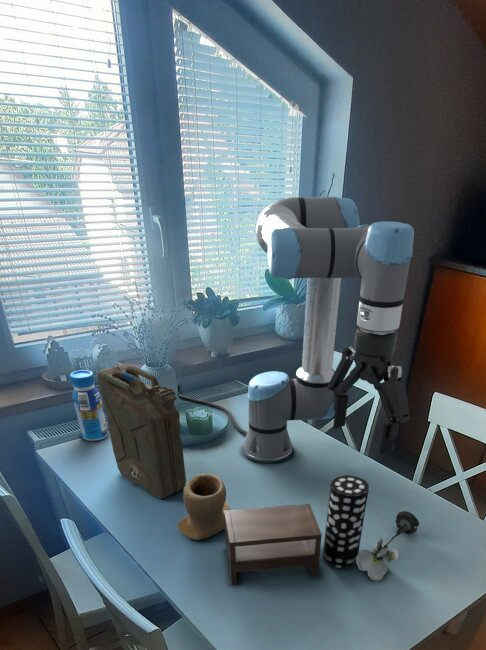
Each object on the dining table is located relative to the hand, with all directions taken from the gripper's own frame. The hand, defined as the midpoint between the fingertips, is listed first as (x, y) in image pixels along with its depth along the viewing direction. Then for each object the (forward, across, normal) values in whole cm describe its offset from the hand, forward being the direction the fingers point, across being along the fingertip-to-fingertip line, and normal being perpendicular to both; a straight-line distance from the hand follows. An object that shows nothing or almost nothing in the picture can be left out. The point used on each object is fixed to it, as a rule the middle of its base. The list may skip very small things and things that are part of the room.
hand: (361, 438), depth 106 cm
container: (+30, -56, -23) cm, 68 cm away
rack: (+30, -7, -18) cm, 35 cm away
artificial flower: (+30, +7, +8) cm, 32 cm away
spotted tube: (+30, +1, -3) cm, 30 cm away
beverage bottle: (+30, -92, -26) cm, 100 cm away
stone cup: (+30, -27, -22) cm, 46 cm away
